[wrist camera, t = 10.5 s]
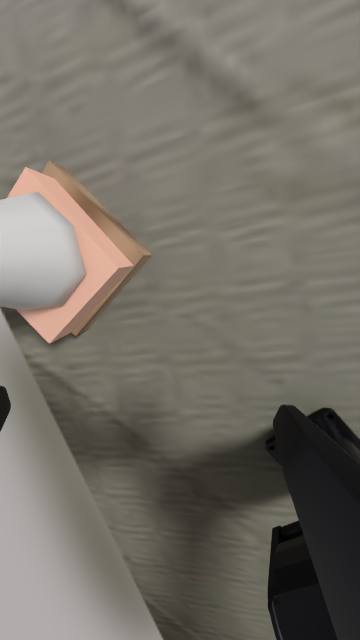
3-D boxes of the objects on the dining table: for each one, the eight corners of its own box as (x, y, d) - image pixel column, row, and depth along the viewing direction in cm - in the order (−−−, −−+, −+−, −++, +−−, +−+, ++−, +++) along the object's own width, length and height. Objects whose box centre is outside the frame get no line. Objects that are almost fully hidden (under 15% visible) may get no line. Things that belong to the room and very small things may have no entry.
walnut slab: (154, 254, 19) (143, 255, 17) (91, 327, 22) (75, 336, 20) (71, 171, 19) (48, 160, 17) (18, 257, 22) (-7, 258, 20)
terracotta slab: (133, 265, 17) (118, 268, 15) (70, 332, 20) (49, 343, 18) (54, 178, 17) (25, 167, 14) (0, 259, 19) (-32, 261, 17)
